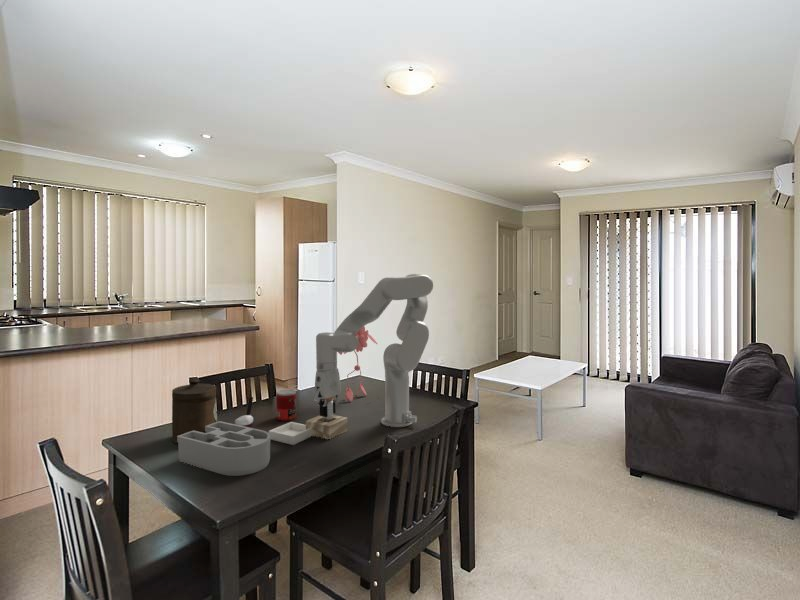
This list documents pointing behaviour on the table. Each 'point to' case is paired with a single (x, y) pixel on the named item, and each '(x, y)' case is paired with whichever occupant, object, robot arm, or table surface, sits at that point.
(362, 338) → the pink stick figure
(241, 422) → the white oval with stem
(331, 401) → the steel pin
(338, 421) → the socket block
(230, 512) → the table surface
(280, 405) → the canned food
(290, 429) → the tray
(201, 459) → the grey compartment organizer
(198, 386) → the wooden container
